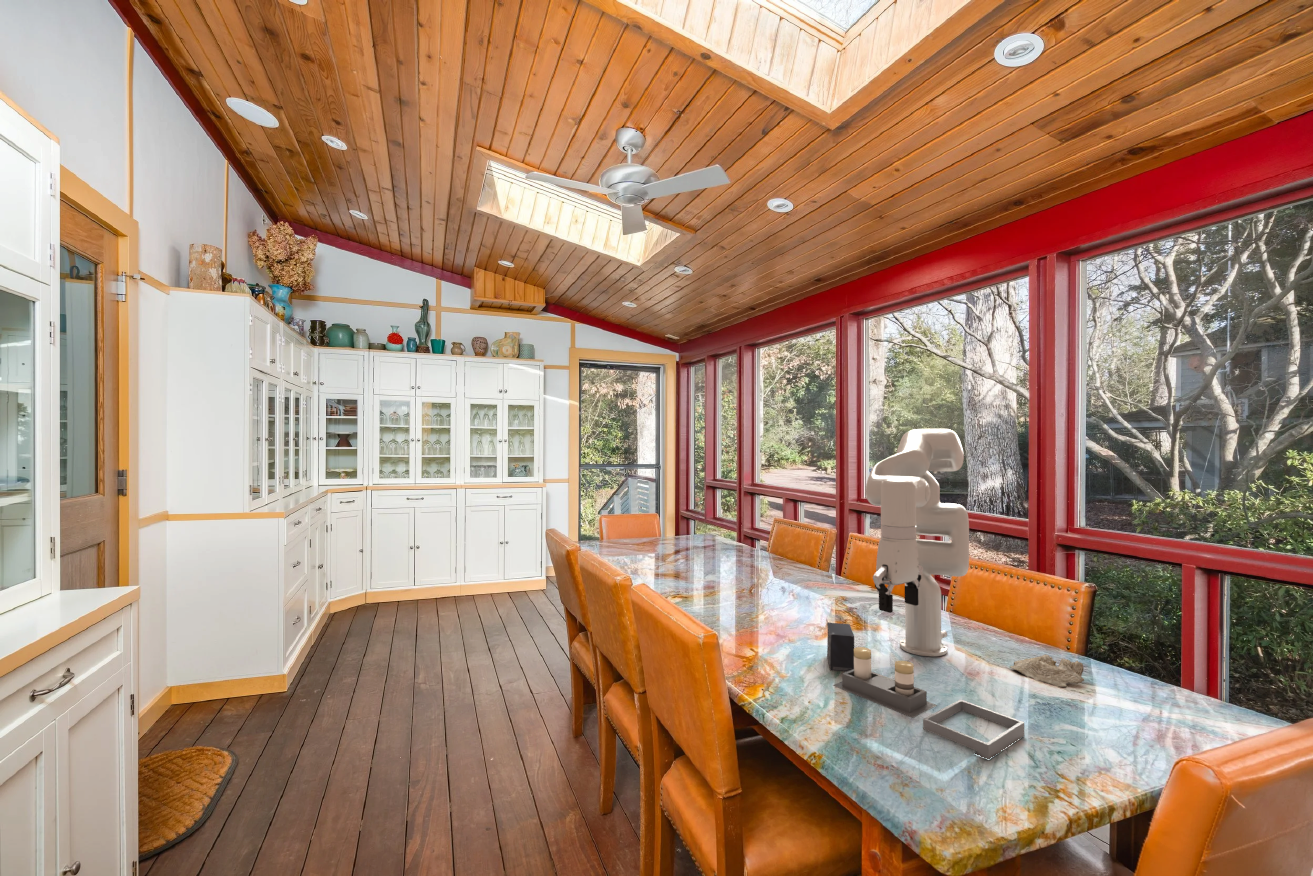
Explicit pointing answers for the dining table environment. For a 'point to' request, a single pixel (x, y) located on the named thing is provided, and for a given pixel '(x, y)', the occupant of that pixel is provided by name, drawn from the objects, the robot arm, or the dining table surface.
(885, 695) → the fuse block
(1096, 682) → the dining table surface
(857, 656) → the cylinder
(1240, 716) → the dining table surface
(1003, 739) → the tray
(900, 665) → the fuse
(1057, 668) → the coral
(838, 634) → the small box
